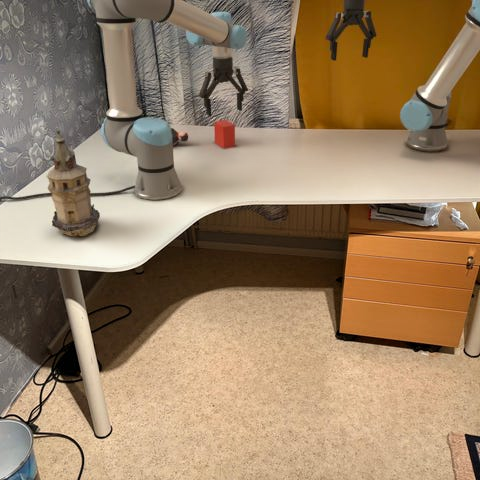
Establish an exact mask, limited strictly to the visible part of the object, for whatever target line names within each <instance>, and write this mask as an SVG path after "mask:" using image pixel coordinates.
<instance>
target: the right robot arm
mask: <svg viewBox="0 0 480 480" xmlns="http://www.w3.org/2000/svg"><path fill="white" fill-rule="evenodd" d="M471 1H472V3H471V6H470V8H469V9H468V10H467V12H466V13H465V15H464V18H465V24H464V25H463V26H462V28H461V30H460V31H459V32H458V34H457V35H456V37H455V38H454V41H453V42H452V43H451V44H450V47H449V48H448V50H447V51H446V52H445V54H444V55H443V57H442V58H441V60H440V62H439V63H438V65H437V66H436V67H435V69H434V70H433V72H432V74H431V75H430V77H429V78H428V80H427V81H426V82H425V84H423V85H420V86H418V87H417V88H416V90H415V92H414V93H413V95H412V96H411V98H410V99H409V101H407V102H405V103H404V104H403V106H402V107H401V109H400V113H399V118H400V122H401V124H402V125H403V127H404V128H405V129H407V130H408V131H410V132H409V134H408V135H407V138H406V142H405V144H406V146H407V147H408V148H409V149H412V150H414V151H418V152H424V153H437V152H442V151H445V150H446V149H447V147H448V138H447V132H446V125H448V124H449V122H450V119H449V118H448V114H449V109H450V103H451V99H452V90H453V88H454V87H455V86H456V84H457V83H458V81H459V80H460V79H461V77H462V76H463V74H464V73H465V71H466V70H467V69H468V67H469V66H470V65H471V63H472V61H473V60H474V59H475V58H476V56H477V54H478V53H479V52H480V0H471ZM365 6H366V0H343V5H342V9H343V11H342V12H337V11H336V12H335V13H334V17H333V18H334V19H333V21H332V23H331V25H330V27H329V29H328V31H327V33H326V36H325V40H327V41H329V51H330V52H331V53H330V60H331V61H334V62H335V61H337V56H338V55H337V53H338V44H339V43H338V41H337V40H338V39H339V38H340V36H341V35H342V34H343V32H344V30H345V29H346V28H347V27H348V26H358V27H359V29H360V31H361V32H362V33H363V34H362V35H364V37H365V38H363V45H362V52H361V53H362V54H361V57H362V58H364V59H365V58H366V59H368V57H369V49H370V48H371V45H372V40H373V39H374V38H376V37H377V32H376V29H375V26H374V22H373V19H372V11H371V10H365V11H364V9H365ZM363 18H364V19H365V21H364V20H363ZM365 23H366V24H365Z"/></svg>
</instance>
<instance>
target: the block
mask: <svg viewBox="0 0 480 480" xmlns="http://www.w3.org/2000/svg"><path fill="white" fill-rule="evenodd" d="M213 126H214V127H213V128H214V143H215V144H216V145H217V146H219V147H221V148H222V149H229V148H234V147H236V124H234V123H232V122H230V121H229V120H227V119H223V120H216V121H213Z"/></svg>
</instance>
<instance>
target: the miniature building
mask: <svg viewBox="0 0 480 480" xmlns="http://www.w3.org/2000/svg"><path fill="white" fill-rule="evenodd" d="M56 134H57V136H56V138H55V140H54V141H55V142H56V147H55V154H54V156H52V157H51V161H52V162H53V165H54V167H53V168H51V169H50V170H49V171H48V173H47V174H46V178H47V179H48V182H49V184H48V186H47V190H48V191H49V193H52V195H51V200H52V201H53V205H54V209H55V211H53V217H52V220H51V223H52V225H51V227H54V228H56V229H58V230H59V231H60V234H63V235H64V234H65V235H66V236H69V237H77V236H80V237H83V236H87V235H88V234H90V233H93V232H94V231H95V229H96V226H97V225H98V223H99V220H100V216H101V213H100V212H99V210H98V209H96V208H95V204H92V201H91V200H92V199H91V198H92V197H91V196H90V193H92V191H91V188H90V184H91V178H89V177H88V174H87V167H85V166H84V165H83V166H82V165H80V164H77V160H76V154H75V151H74V150H70V149H69V147H68V145H67V143H66V138H65V137H64V136H63V135H61V130H60V129H56Z"/></svg>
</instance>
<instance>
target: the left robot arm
mask: <svg viewBox="0 0 480 480" xmlns="http://www.w3.org/2000/svg"><path fill="white" fill-rule="evenodd" d="M86 2H87V5H88V7H89V8H90V9H91V11H92V12H93V13H94V14H95V19H96V24H97V25H98V26H99V27H100V28H101V30H102V38H103V47H104V48H103V49H104V57H105V67H106V78H107V87H108V97H109V98H108V99H109V109H108V110H107V111H106V112H105V114H106V117H105V118H104V119H103V123H102V124H101V128H100V133H101V134H100V135H101V137H102V140H103V142H104V143H105V144H106V146H107V147H109V148H110V149H113V150H114V151H116V152H119V153H124V154H125V155H129V156H133V157H135V158H136V161H137V175H136V179H135V184H134V185H132V186H128V187H126V188H123V189H120V190H114V191H107V192H90V197H91V196H109V195H117V194H122V193H125V192H127V191H130V190H133V189H134V193H135V195H136V196H137V197H138V198H141V199H143V200H148V201H161V200H168V199H171V198H174V197H176V196H178V195H179V194H180V193H181V192H182V183H181V180H180V177H179V176H178V173H177V171H176V169H175V161H174V160H175V157H174V145H173V141H172V133H171V128H172V127H171V125H170V124H169V123H168V122H167V121H166V120H164V119H162V118H159V117H151V116H150V117H149V116H146V117H143V110H142V109H141V108H140V107H138V100H137V98H138V97H137V87H136V72H135V59H134V47H133V34H132V33H133V32H132V28H133V27H134V26H135V25H136V23H137V20H136V19H141V20H149V21H153V22H155V23H158V24H164V23H166V24H167V23H168V24H170V25H172V26H175V27H177V28H179V29H181V30H184V31H185V38H186V40H187V42H188V43H189V44H190V46H193V47H200V46H211V52H212V54H211V55H212V56H213V58H212V69H213V70H212V71H208V70H206V71H205V76H204V80H203V83H202V85H201V88H200V91H199V94H198V97H199V98H201V99H202V100H203V106H204V108H205V111H206V115H207V116H208V117H212V100H211V98H210V97H211V95H212V94H213V92H214V91H215V89H216V88H217V86H218V85H219V84H223V83H228V82H230V84H231V85H232V86H233V87H234V88H235V90H236V91H237V92H236V110H237V111H240V112H241V111H243V102H244V101H245V100H244V98H245V97H244V95H245V94H246V92H248V91H249V88H248V86H247V84H246V82H245V80H244V78H243V76H242V73H241V68H240V67H237V66H236V67H234V62H233V61H234V59H233V57H232V56H233V50H241V49H243V48H244V47H245V46H246V44H247V40H248V32H247V30H246V28H245V26H242V25H238V24H233V21H232V14H231V13H230V12H228V11H214V12H212V13H209V12H207V11H205V10H203V9H201V8H199V7H197V6H195V5H193V4H190V3H189V2H186V1H184V0H86ZM233 67H234V68H233ZM233 74H234V75H235V77H236V79H237V81H238V82H237V81H236V80H235V78H234V77H233ZM212 78H213V79H212ZM45 196H52V193H51V192H44V193H35V194H30V195H24V196H17V197H15V196H8V195H7V196H6V195H4V196H0V201H2V200H12V201H19V200H27V199H31V198H32V199H33V198H39V197H45ZM11 288H12V293H13V296H14V299H15V300H17V299H18V296H17V290H16V287H15V284H11Z"/></svg>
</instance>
